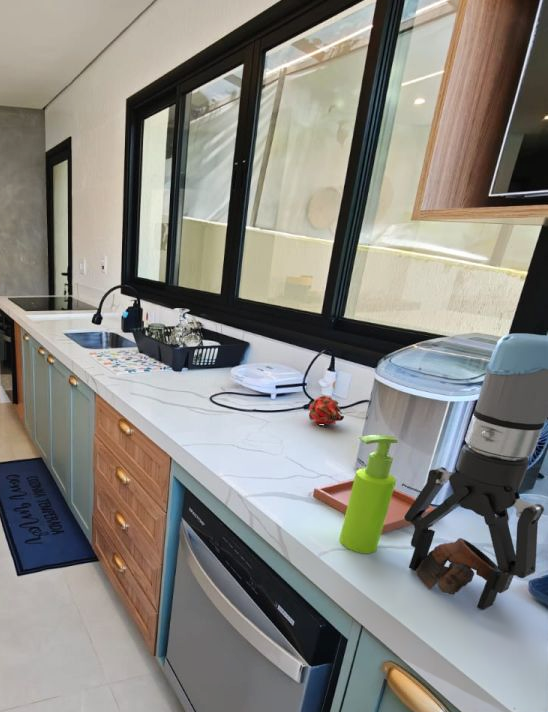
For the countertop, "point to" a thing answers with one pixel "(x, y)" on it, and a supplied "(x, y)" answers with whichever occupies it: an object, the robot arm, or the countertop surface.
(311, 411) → the dragon fruit
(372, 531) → the soap dispenser
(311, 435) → the countertop surface
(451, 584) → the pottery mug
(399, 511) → the tray
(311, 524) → the countertop surface
